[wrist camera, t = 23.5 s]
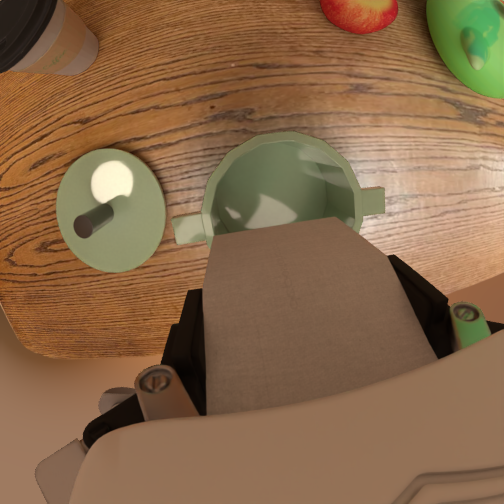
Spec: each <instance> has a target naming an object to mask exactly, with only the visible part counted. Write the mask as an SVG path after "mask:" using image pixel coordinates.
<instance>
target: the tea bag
mask: <svg viewBox="0 0 504 504" xmlns="http://www.w3.org/2000/svg"><path fill="white" fill-rule="evenodd" d="M202 293H203V312H204V337H205V357H206V399H207V416H209V415H220V414H229V413H237V412H245V411H253V410H260V409H267V408H273V407H279V406H284V405H290V404H295V403H300V402H305V401H309V400H314V399H318V398H323V397H327V396H331V395H335V394H339V393H343V392H346V391H350V390H354V389H357V388H361V387H364V386H367V385H371V384H374V383H377V382H380V381H383V380H386V379H389V378H392V377H395V376H398V375H401V374H403V373H406V372H409V371H411V370H414V369H417V368H419V367H422V366H424V365H427V364H429V363H432V362H434V361H437V360H438V358H437V356H436V355H435V353H434V351H433V349H432V347H431V346H430V344H429V342H428V340H427V338H426V336H425V333H424V331H423V329H422V327H421V325H420V323H419V321H418V319H417V317H416V315H415V313H414V310H413V308H412V306H411V304H410V302H409V299H408V297H407V295H406V293H405V291H404V289H403V287H402V285H401V283H400V281H399V279H398V277H397V275H396V273H395V271H394V269H393V267H392V265H391V263H390V261H389V259H388V257H387V256H386V255H385V254H384V253H382V252H381V251H380V250H379V249H377V248H376V247H375V246H374V245H372V244H371V243H370V242H368V241H367V240H366V239H365V238H363V237H362V236H361V235H359V234H358V233H357V232H355V231H354V230H353V229H351V228H350V227H349V226H347V225H346V224H345V223H343V222H342V221H341V220H339V219H338V218H337V217H329V218H322V219H315V220H309V221H302V222H296V223H289V224H283V225H277V226H270V227H264V228H258V229H252V230H246V231H240V232H234V233H228V234H222V235H216V236H213V240H212V245H211V249H210V254H209V259H208V264H207V268H206V273H205V278H204V283H203V288H202Z"/></svg>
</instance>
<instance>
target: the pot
mask: <svg viewBox="0 0 504 504" xmlns="http://www.w3.org/2000/svg"><path fill="white" fill-rule="evenodd" d="M383 213H385V188H383V187H380V186H378V187H367V188H361V187H360V185H359V183H358V181H357V179H356V177H355V174H354V172H353V170H352V168H351V166H350V164H349V162H348V161H347V160H346V159H345V158H344V157H343V156H341V155H340V154H339V153H338V152H337V151H336V150H335V149H334V148H332V147H331V146H330V145H329V144H328V143H327V142H325V141H324V140H321V139H318V138H315V137H312V136H309V135H306V134H302V133H299V132H296V131H283V132H274V133H266V134H259V135H256V136H254V137H253V138H251V139H249V140H248V141H246V142H244V143H242V144H241V145H239V146H237V147H236V148H234V149H232V150H231V151H229V152H228V153H227V154H226V155H225V157H224V158H223V159H222V161H221V162H220V164H219V165H218V166H217V168H216V169H215V170H214V172H213V173H212V175H211V176H210V177H209V179H208V181H207V185H206V189H205V194H204V198H203V203H202V208H201V211H199V212H193V213H188V214H182V215H177V216H173V217H172V218H171V222H172V226H173V231H174V235H175V239H176V243H177V245H182V244H188V243H193V242H199V241H205V240H206V242H207V245H208V247H209V248H210V249H211V245H212V240H213V236H216V235H222V234H228V233H234V232H240V231H246V230H252V229H258V228H264V227H270V226H277V225H283V224H289V223H296V222H302V221H309V220H315V219H322V218H329V217H337V218H338V219H339V220H341V221H342V222H343V223H345V224H346V225H347V226H349V227H350V228H351V229H353V230H354V231H355V232H357V233H358V234H359V231H360V228H361V225H362V222H363V216H368V215H376V214H383Z"/></svg>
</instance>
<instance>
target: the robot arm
mask: <svg viewBox="0 0 504 504" xmlns="http://www.w3.org/2000/svg"><path fill="white" fill-rule="evenodd" d="M387 257H388V259H389V261H390V263H391V265H392V267H393V269H394V271H395V273H396V275H397V277H398V279H399V281H400V283H401V285H402V287H403V289H404V291H405V293H406V295H407V297H408V299H409V302H410V304H411V306H412V308H413V310H414V313H415V315H416V317H417V319H418V321H419V323H420V325H421V327H422V329H423V331H424V333H425V336H426V338H427V340H428V342H429V344H430V346H431V347H432V349H433V351H434V353H435V355H436V356H437V358H438V360H437V361H434V362H432V363H429V364H427V365H424V366H422V367H419V368H417V369H414V370H411V371H409V372H406V373H403V374H401V375H398V376H395V377H392V378H389V379H386V380H383V381H380V382H377V383H374V384H371V385H367V386H364V387H361V388H357V389H354V390H350V391H346V392H343V393H339V394H335V395H331V396H327V397H323V398H318V399H314V400H309V401H305V402H300V403H295V404H290V405H284V406H279V407H273V408H267V409H260V410H253V411H245V412H237V413H229V414H220V415H209V416H207V399H206V357H205V337H204V312H203V293H202V288H201V289H194V290H188V292H187V296H186V299H185V303H184V306H183V310H182V314H181V317H180V321H179V323H177V324H172V326H171V329H170V332H169V336H168V339H167V343H166V346H165V350H164V353H163V357H162V360H161V364H160V365H154V366H151V367H148V368H146V369H144V370H143V371H142V372H141V373H139V375H138V376H137V377H136V380H135V383H134V384H135V390H136V393H135V394H134V395H132V396H131V397H129V398H128V399H126V400H125V401H123V402H121V403H118V404H115V405H114V406H113V407H112V408H111V409H110V410H109V411H107V412H106V413H104V414H102V415H101V416H99V417H97V418H96V419H94V420H93V421H91V422H90V423H89V424H88V425H87V427H86V428H85V430H84V432H83V439H82V440H80V441H79V440H78V439H75V440H73V441H72V442H70V443H69V444H67V445H66V446H64V447H63V448H61V449H60V450H58V451H57V452H55V453H54V454H52V455H50V456H49V457H47V458H46V459H44V460H43V461H41V462H40V463H39V464H38V466H37V467H36V469H35V477H36V481H37V483H38V485H39V487H40V489H41V491H42V493H43V495H44V497H45V499H46V501H47V504H504V324H501V323H496V322H490V321H486V320H485V317H484V315H483V313H482V311H481V309H480V308H479V307H477V306H476V305H474V304H472V303H468V302H457V303H454V304H453V305H452V306H451V307H450V306H448V304H447V303H448V298H447V297H446V296H445V295H443V294H442V293H441V292H440V291H439V290H438V289H436V288H435V287H434V286H433V285H432V284H430V283H429V282H428V281H427V280H426V279H424V278H423V277H422V276H421V275H420V274H418V273H417V272H416V271H415V270H413V269H412V268H411V267H410V266H408V265H407V264H406V263H405V262H403V261H402V260H401V259H399V258H398V257H397V256H396V255H394V254H393V255H388V256H387Z"/></svg>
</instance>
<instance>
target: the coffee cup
mask: <svg viewBox="0 0 504 504" xmlns="http://www.w3.org/2000/svg"><path fill="white" fill-rule="evenodd" d="M98 50H99V43H98V40H97V38H96V36H95V35H94V34H93V33H92V32H91V31H90V30H89V29H88V28H87V27H86V26H85V24H84V22H83V21H82V20H81V19H80V17H79V16H78V15H77V14H76V13H75V12H74V11H73V10H72V9H71V8H70V7H69V6H68V5H67V4H66V3H65V2H64V1H63V0H1V1H0V73H3V72H5V71H7V70H11V71H13V72H26V73H39V74H60V75H69V76H72V75H77V74H80V73H81V72H83V71H85V70H86V69H88V68H89V67H90V66H91V65H92V63H93V62H94V61H95V59H96V57H97V54H98Z"/></svg>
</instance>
